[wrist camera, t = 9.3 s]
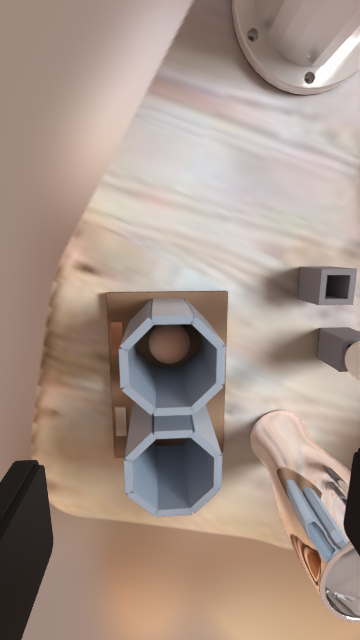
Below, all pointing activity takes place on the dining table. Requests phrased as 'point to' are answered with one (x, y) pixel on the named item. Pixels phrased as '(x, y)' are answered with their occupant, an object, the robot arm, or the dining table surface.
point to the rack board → (119, 316)
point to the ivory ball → (353, 360)
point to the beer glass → (311, 508)
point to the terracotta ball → (169, 343)
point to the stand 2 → (336, 345)
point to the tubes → (171, 415)
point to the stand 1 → (327, 285)
